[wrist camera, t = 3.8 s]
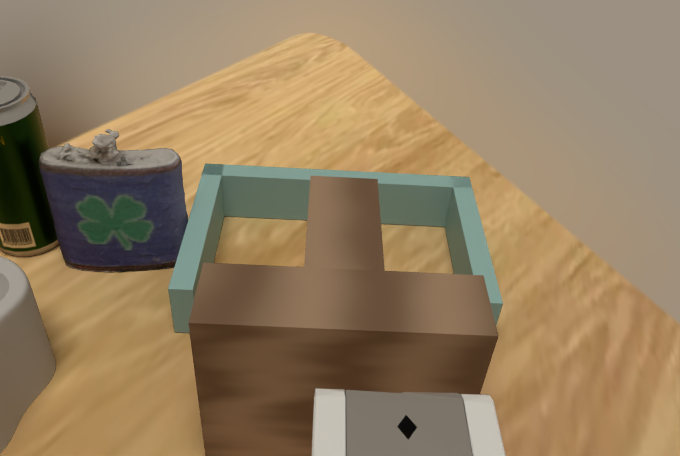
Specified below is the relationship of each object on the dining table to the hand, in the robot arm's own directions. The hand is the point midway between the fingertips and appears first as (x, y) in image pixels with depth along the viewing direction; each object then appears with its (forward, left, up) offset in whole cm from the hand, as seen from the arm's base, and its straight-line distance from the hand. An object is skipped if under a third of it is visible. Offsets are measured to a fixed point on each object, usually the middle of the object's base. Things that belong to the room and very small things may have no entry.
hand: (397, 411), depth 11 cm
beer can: (-23, +31, -24) cm, 45 cm away
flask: (-15, +29, -24) cm, 41 cm away
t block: (0, +19, -23) cm, 30 cm away
